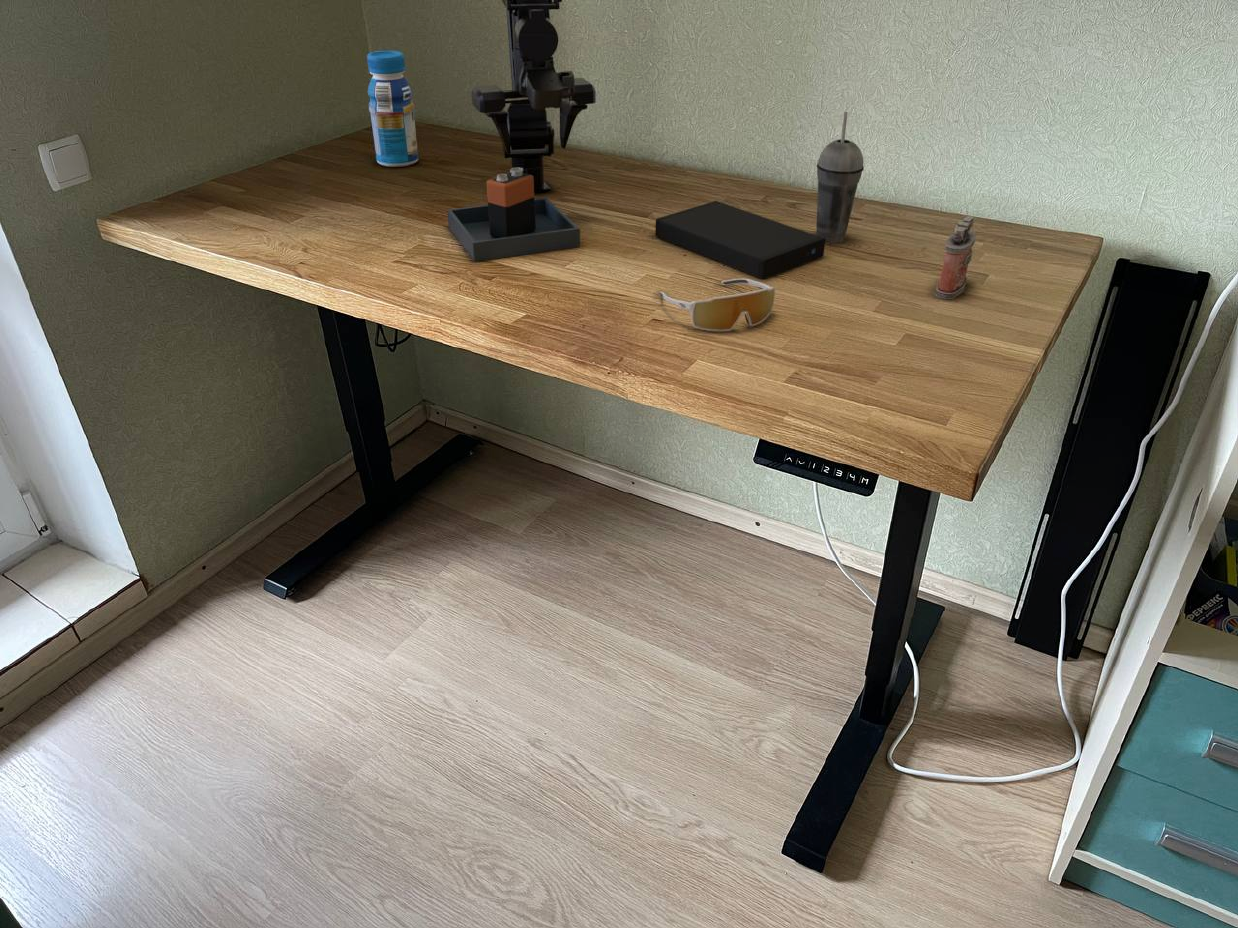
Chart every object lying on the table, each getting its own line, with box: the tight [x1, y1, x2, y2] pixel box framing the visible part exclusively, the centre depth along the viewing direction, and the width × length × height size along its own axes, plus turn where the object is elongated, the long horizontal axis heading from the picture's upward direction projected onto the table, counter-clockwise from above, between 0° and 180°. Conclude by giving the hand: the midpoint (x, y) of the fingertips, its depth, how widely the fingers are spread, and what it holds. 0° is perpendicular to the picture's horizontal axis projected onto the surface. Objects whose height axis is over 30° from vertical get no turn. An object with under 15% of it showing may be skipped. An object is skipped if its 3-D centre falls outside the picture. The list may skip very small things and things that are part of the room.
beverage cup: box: [815, 111, 865, 244], centre depth 150 cm, size 7×7×20 cm
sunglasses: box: [659, 278, 776, 332], centre depth 131 cm, size 14×15×5 cm
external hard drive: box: [654, 200, 826, 280], centre depth 151 cm, size 14×23×3 cm, turn 41°
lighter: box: [935, 215, 977, 300], centre depth 136 cm, size 8×3×10 cm, turn 148°
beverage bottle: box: [366, 50, 419, 168], centre depth 183 cm, size 8×8×20 cm
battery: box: [486, 167, 536, 238], centre depth 151 cm, size 4×7×10 cm, turn 143°
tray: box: [446, 197, 581, 262], centre depth 154 cm, size 16×17×3 cm
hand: (536, 150), depth 154 cm, fingers open, 9 cm apart
